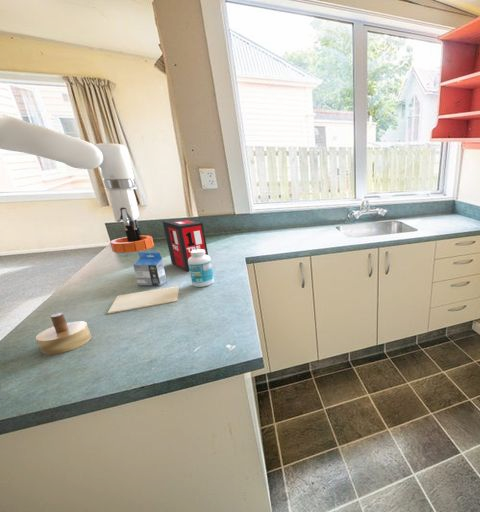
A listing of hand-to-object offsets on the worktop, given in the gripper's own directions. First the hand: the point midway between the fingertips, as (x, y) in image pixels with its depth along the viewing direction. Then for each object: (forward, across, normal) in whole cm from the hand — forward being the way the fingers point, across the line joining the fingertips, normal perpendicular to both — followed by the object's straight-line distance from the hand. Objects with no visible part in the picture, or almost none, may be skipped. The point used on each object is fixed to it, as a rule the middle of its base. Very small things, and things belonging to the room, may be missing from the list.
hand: (135, 240), depth 100 cm
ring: (+2, +4, 0) cm, 5 cm away
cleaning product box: (+20, -28, +12) cm, 37 cm away
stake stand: (+20, +26, -14) cm, 36 cm away
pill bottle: (+20, -2, +17) cm, 26 cm away
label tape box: (+20, -10, 0) cm, 23 cm away
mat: (+20, +4, 0) cm, 21 cm away
